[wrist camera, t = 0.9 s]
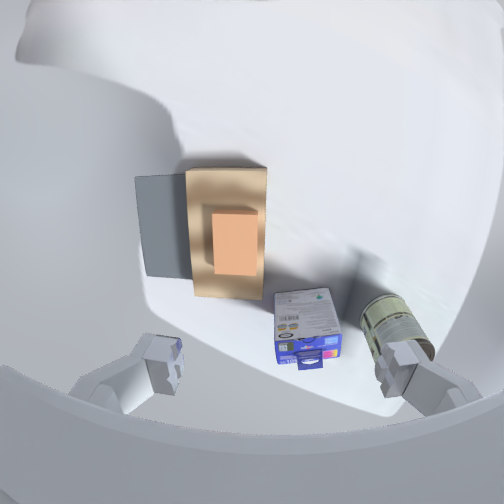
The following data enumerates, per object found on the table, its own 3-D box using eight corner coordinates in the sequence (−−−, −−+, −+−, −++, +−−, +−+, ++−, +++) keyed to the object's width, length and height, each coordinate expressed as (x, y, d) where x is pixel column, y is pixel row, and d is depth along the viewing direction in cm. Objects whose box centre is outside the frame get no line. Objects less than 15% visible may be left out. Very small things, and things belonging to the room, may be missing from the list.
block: (214, 209, 38) (212, 213, 36) (258, 210, 37) (257, 215, 35) (217, 267, 41) (214, 273, 40) (256, 269, 41) (256, 275, 39)
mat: (135, 176, 40) (134, 177, 40) (193, 174, 40) (193, 174, 39) (147, 275, 48) (147, 276, 47) (199, 278, 47) (199, 279, 47)
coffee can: (413, 314, 48) (441, 361, 35) (374, 342, 51) (392, 393, 38) (393, 283, 45) (425, 331, 32) (349, 315, 48) (368, 370, 36)
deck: (193, 167, 39) (185, 171, 36) (267, 167, 39) (266, 171, 35) (200, 283, 47) (194, 296, 44) (263, 287, 47) (262, 300, 43)
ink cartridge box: (275, 317, 49) (276, 377, 36) (272, 292, 47) (272, 351, 34) (328, 311, 48) (344, 369, 35) (328, 286, 46) (346, 342, 33)
